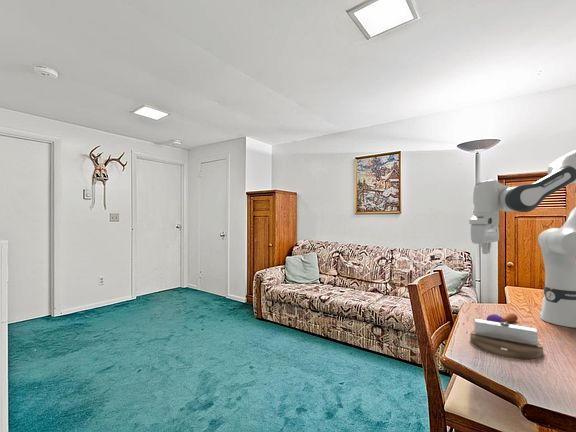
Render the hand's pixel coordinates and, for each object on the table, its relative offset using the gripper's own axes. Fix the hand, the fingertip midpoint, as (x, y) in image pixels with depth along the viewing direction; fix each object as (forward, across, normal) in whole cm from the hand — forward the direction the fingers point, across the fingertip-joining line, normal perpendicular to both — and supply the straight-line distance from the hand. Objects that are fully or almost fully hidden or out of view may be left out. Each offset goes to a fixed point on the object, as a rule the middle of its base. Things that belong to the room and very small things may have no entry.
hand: (486, 253), depth 123 cm
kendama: (+29, -4, +4) cm, 30 cm away
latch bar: (+26, +18, +11) cm, 34 cm away
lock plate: (+29, +18, +11) cm, 36 cm away
